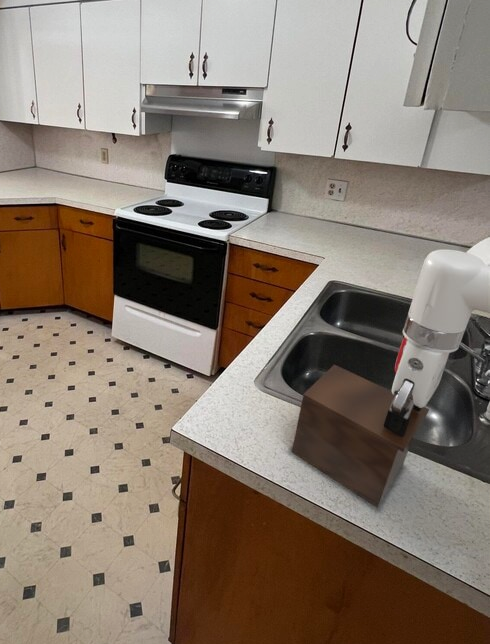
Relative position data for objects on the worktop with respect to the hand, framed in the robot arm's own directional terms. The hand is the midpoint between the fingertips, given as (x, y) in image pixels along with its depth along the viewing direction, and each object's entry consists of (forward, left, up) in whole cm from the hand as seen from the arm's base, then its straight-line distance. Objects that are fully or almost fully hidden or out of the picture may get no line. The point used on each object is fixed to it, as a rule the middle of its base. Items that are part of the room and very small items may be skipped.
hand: (402, 418), depth 72 cm
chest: (+7, 0, -15) cm, 16 cm away
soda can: (+7, -36, -15) cm, 40 cm away
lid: (+6, 0, -1) cm, 6 cm away
